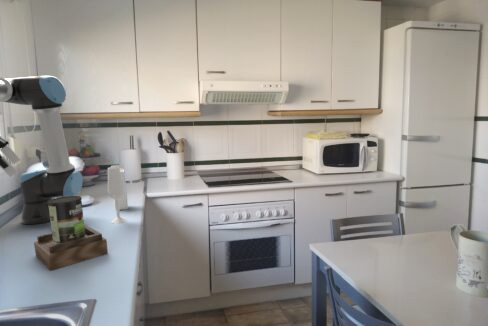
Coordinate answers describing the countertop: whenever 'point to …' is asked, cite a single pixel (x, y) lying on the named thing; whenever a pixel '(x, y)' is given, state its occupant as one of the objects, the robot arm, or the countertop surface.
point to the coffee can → (66, 218)
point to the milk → (123, 200)
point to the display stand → (70, 249)
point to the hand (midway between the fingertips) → (16, 167)
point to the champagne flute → (115, 190)
